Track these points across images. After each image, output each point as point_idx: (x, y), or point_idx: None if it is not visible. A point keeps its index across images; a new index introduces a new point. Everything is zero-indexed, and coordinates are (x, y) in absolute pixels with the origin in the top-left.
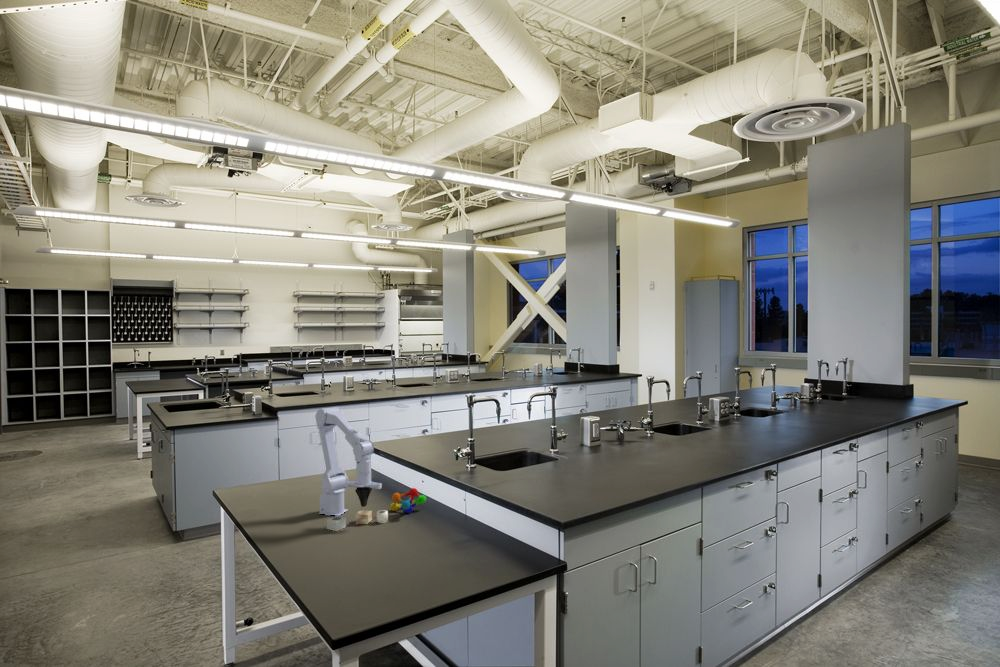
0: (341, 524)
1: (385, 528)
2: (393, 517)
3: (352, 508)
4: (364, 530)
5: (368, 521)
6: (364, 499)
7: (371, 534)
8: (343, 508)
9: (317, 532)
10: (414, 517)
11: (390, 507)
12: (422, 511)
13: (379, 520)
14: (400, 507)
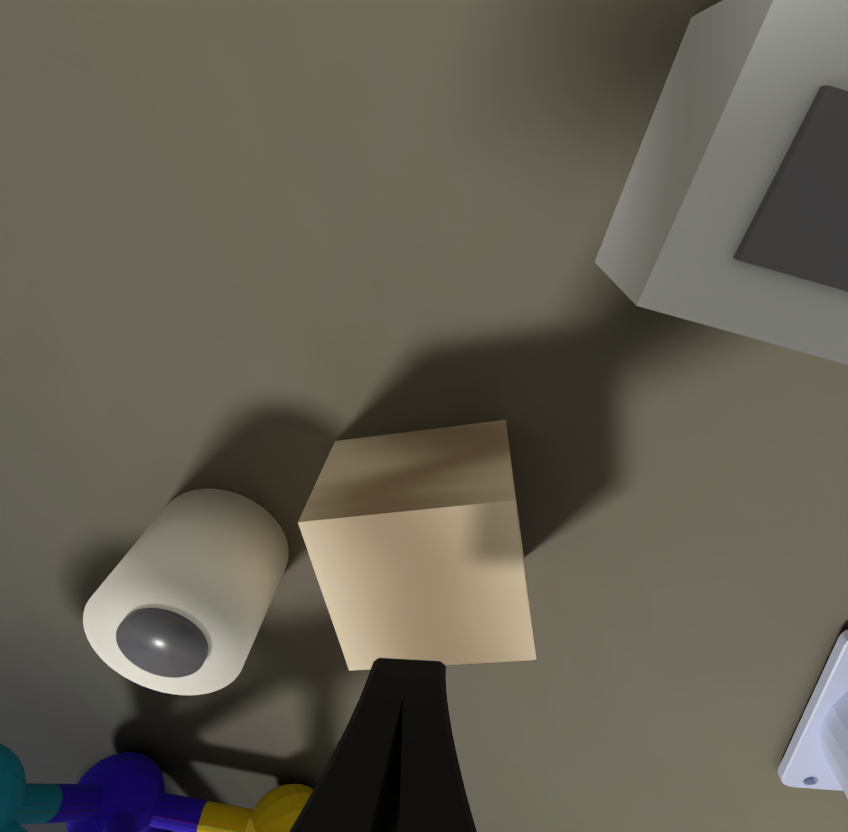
0: (665, 157)
1: (35, 353)
2: None
3: (745, 813)
4: (253, 215)
5: (328, 469)
6: (313, 813)
7: (35, 59)
8: (844, 767)
9: None
10: (6, 680)
11: None
12: None
13: (200, 513)
14: (200, 818)
